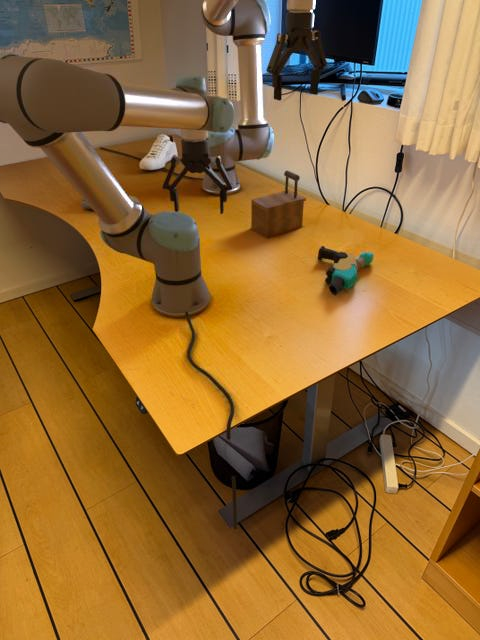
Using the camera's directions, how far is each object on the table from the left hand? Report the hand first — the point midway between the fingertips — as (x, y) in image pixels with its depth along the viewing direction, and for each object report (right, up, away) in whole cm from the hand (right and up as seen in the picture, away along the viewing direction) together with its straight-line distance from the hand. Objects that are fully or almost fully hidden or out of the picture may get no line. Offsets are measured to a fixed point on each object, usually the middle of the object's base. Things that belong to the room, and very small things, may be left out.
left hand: (199, 211), depth 142 cm
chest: (+25, -1, +20) cm, 32 cm away
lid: (+25, +7, +15) cm, 30 cm away
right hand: (+29, +34, -2) cm, 44 cm away
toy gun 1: (-38, +11, +37) cm, 54 cm away
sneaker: (-25, +39, +76) cm, 89 cm away
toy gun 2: (+40, -20, -6) cm, 45 cm away
